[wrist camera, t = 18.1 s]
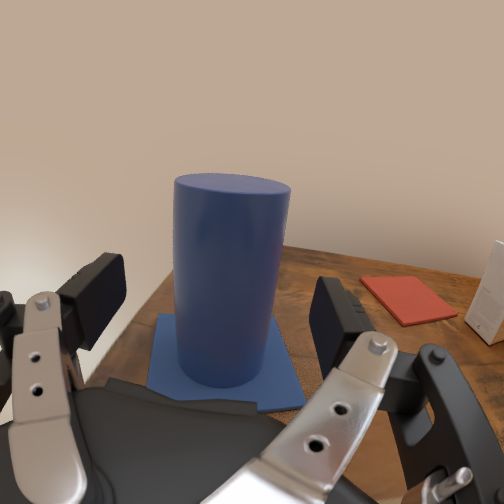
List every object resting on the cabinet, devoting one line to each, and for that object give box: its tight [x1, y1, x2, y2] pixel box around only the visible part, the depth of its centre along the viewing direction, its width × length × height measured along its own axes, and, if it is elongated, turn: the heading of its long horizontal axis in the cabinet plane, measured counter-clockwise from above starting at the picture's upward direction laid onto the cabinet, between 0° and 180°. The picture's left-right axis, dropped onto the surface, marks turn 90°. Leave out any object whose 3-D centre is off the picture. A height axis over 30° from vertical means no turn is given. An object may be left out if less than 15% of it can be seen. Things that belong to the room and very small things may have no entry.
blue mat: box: [146, 313, 307, 413], centre depth 19 cm, size 10×10×1 cm
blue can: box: [173, 173, 291, 388], centre depth 16 cm, size 6×6×12 cm
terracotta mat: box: [360, 276, 458, 326], centre depth 29 cm, size 10×10×1 cm
